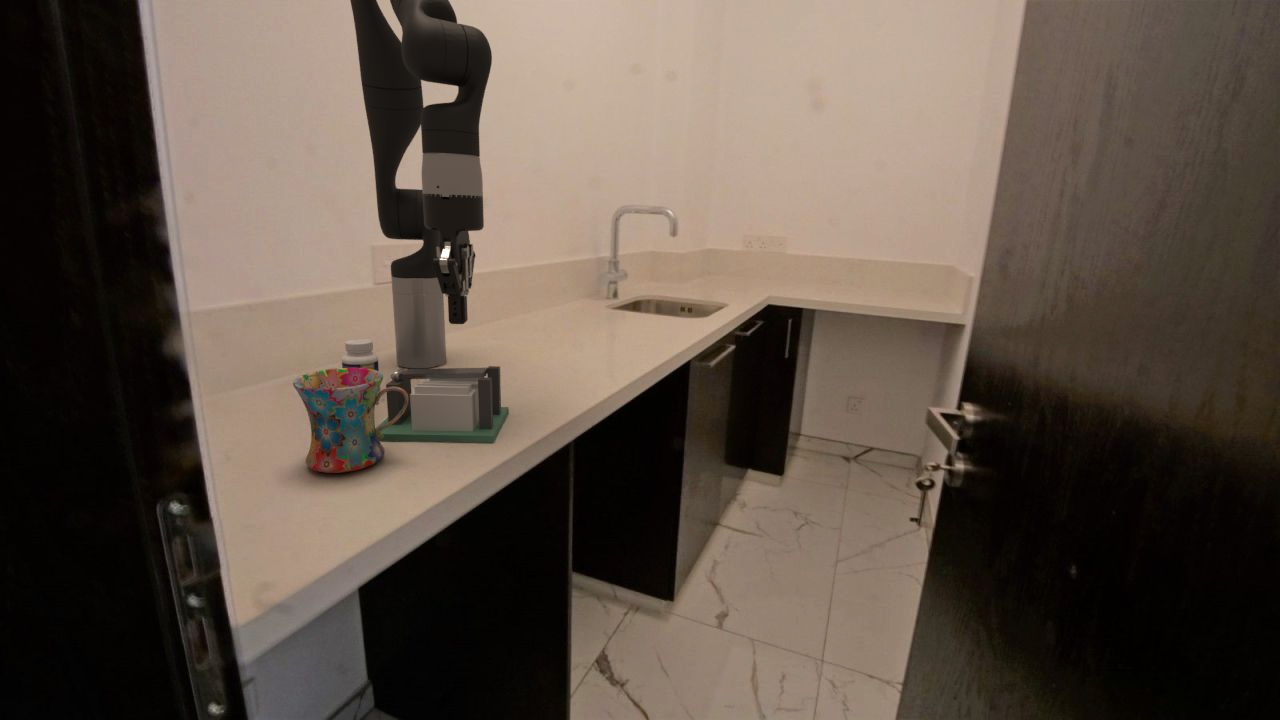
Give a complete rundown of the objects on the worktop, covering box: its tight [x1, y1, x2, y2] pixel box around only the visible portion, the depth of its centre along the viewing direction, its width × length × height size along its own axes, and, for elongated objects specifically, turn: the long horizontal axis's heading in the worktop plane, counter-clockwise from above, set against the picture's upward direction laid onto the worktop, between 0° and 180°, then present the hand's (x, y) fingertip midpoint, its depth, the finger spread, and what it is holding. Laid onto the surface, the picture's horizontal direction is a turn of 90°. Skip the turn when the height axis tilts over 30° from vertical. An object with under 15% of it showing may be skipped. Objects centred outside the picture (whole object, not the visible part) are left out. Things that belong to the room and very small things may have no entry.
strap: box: [390, 367, 488, 381], centre depth 81 cm, size 3×12×1 cm, turn 93°
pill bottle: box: [341, 338, 381, 395], centre depth 95 cm, size 5×5×9 cm
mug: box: [292, 367, 409, 474], centre depth 69 cm, size 12×9×11 cm
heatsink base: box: [375, 365, 510, 444], centre depth 82 cm, size 12×16×8 cm
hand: (458, 323), depth 80 cm, fingers closed
